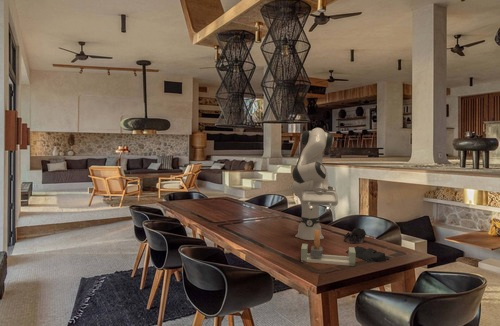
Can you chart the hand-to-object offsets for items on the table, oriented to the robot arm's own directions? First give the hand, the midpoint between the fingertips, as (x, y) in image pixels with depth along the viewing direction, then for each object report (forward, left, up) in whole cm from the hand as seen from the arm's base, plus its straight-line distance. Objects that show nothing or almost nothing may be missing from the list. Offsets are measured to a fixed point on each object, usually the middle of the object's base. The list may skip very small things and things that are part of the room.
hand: (319, 210), depth 209 cm
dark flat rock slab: (-7, +27, -27) cm, 39 cm away
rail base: (+8, +5, -26) cm, 28 cm away
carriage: (+8, -1, -23) cm, 24 cm away
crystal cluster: (-39, +22, -26) cm, 52 cm away
